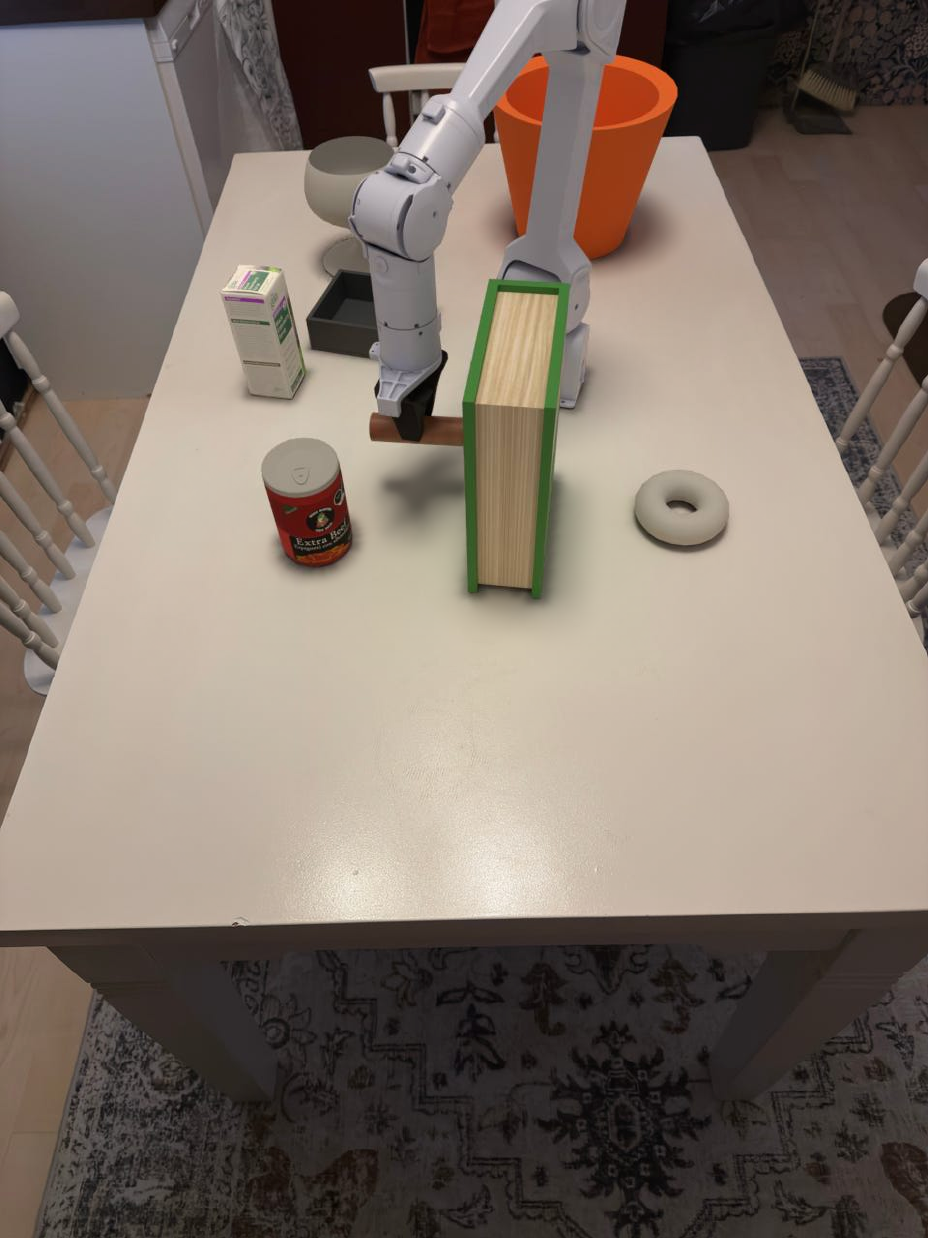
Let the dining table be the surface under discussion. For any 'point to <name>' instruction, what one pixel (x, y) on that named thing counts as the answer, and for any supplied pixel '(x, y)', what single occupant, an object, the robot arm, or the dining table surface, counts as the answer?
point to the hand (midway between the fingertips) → (416, 427)
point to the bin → (345, 316)
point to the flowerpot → (617, 148)
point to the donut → (681, 525)
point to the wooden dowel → (434, 433)
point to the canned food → (308, 500)
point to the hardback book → (512, 431)
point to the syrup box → (264, 330)
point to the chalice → (342, 190)
